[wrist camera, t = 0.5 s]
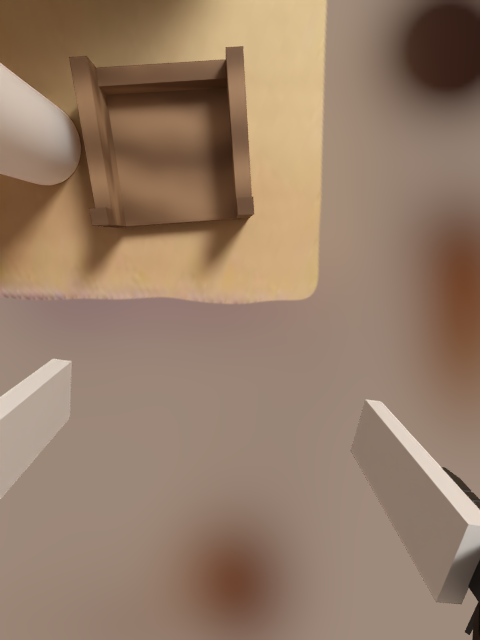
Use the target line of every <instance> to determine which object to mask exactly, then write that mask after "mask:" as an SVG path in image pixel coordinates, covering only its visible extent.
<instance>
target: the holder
mask: <svg viewBox="0 0 480 640" xmlns="http://www.w3.org/2000/svg"><path fill="white" fill-rule="evenodd" d="M69 59H70V65H71V70H72V76H73V82H74V88H75V94H76V99H77V105H78V111H79V117H80V123H81V128H82V134H83V140H84V146H85V152H86V157H87V163H88V169H89V175H90V181H91V186H92V192H93V198H94V204H95V208H89V211H90V216H91V222H92V226H104V227H116V228H118V227H132V226H146V225H160V224H173V223H187V222H201V221H215V220H229V219H242V218H250V217H251V216H252V215H253V214H254V205H253V197H252V193H251V175H250V158H249V141H248V124H247V107H246V90H245V73H244V56H243V46H240V47H226V60H210V61H195V62H179V63H163V64H147V65H131V66H115V67H100V68H96V67H95V66H94V65H93V63H92V62H91V61H90V60H89V58H88V57H87V56H80V57H69Z"/></svg>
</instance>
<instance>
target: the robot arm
mask: <svg viewBox="0 0 480 640" xmlns="http://www.w3.org/2000/svg"><path fill="white" fill-rule="evenodd" d="M71 363H72V362H71V361H66V360H58V359H52V360H51V361H49V362H48V363H47V364H45V365H44V366H42V367H41V368H40V369H38V370H37V371H36V372H34V373H33V374H31V375H30V376H29V377H27V378H26V379H25V380H23V381H22V382H20V383H19V384H18V385H17V386H15V387H13V388H12V389H11V390H9V391H8V392H7V393H5V394H4V395H2V396H1V397H0V499H1V498H2V497H3V496H4V495H5V493H6V492H7V491H8V490H9V489H10V488H11V486H12V485H13V484H14V483H15V482H16V480H17V479H18V478H19V477H20V476H21V475H22V473H23V472H24V471H25V470H26V469H27V468H28V466H29V465H30V464H31V463H32V462H33V461H34V459H35V458H36V457H37V456H38V455H39V453H40V452H41V451H42V450H43V449H44V448H45V446H46V445H47V444H48V443H49V442H50V441H51V439H52V438H53V437H54V436H55V435H56V433H57V432H58V431H59V430H60V429H61V428H62V426H63V425H64V424H65V423H66V422H67V421H68V419H69V418H70V395H71ZM351 452H352V454H353V456H354V458H355V459H356V461H357V463H358V465H359V466H360V468H361V470H362V472H363V474H364V475H365V477H366V479H367V481H368V482H369V484H370V486H371V488H372V489H373V491H374V493H375V495H376V497H377V498H378V500H379V502H380V504H381V505H382V507H383V509H384V511H385V513H386V514H387V516H388V518H389V519H390V521H391V523H392V525H393V527H394V528H395V530H396V532H397V534H398V536H399V537H400V539H401V541H402V543H403V544H404V546H405V548H406V550H407V551H408V553H409V555H410V557H411V559H412V560H413V562H414V564H415V566H416V567H417V569H418V571H419V573H420V575H421V576H422V578H423V580H424V581H425V583H426V585H427V587H428V588H429V590H430V592H431V594H432V596H433V598H434V599H435V601H436V602H440V603H441V602H442V603H453V604H462V602H463V599H464V597H465V595H466V593H467V590H468V588H470V590H471V591H472V593H473V594H474V596H475V597H476V599H477V600H478V604H477V606H476V608H475V611H474V613H473V615H472V617H471V619H470V622H469V624H468V626H467V628H466V630H465V632H466V633H467V634H469V635H470V633H471V631H472V630H473V640H480V499H479V498H478V497H477V496H476V495H475V494H474V493H472V492H471V490H470V489H469V488H468V487H467V486H466V485H465V484H464V482H463V481H462V480H461V479H460V478H458V477H457V476H456V475H454V474H453V473H452V472H450V471H449V470H447V469H446V468H444V467H440V466H439V465H438V463H437V462H436V461H435V460H434V459H433V458H432V457H431V456H430V455H429V453H428V452H427V451H426V450H425V449H424V448H423V447H422V446H421V445H420V444H419V443H418V441H417V440H416V439H415V438H414V437H413V436H412V435H411V434H410V433H409V432H408V430H407V429H406V428H405V427H404V426H403V425H402V424H401V423H400V422H399V421H398V419H397V418H396V417H395V416H394V415H393V414H392V413H391V412H390V411H389V410H388V408H387V407H386V406H385V405H384V404H383V403H382V402H381V401H373V400H365V402H364V406H363V410H362V413H361V416H360V420H359V423H358V427H357V430H356V434H355V437H354V441H353V444H352V448H351Z"/></svg>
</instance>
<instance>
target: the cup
mask: <svg viewBox="0 0 480 640" xmlns="http://www.w3.org/2000/svg"><path fill="white" fill-rule="evenodd" d="M80 155H81V143H80V138H79V134H78V132H77V129H76V127H75V125H74V124H73V122H72V121H71V119H70V118H69V117H68V115H67V114H66V113H65V112H64V111H62V110H61V109H60V108H59V107H57V106H56V105H55V104H53V103H52V102H51V101H49V100H48V99H47V98H46V97H44V96H43V95H42V94H40V93H39V92H38V91H36V90H35V89H34V88H33V87H31V86H30V85H29V84H27V83H26V82H25V81H23V80H22V79H21V78H19V77H18V76H17V75H16V74H14V73H13V72H12V71H10V70H9V69H8V68H6V67H5V66H4V65H2V64H1V63H0V174H2V175H6V176H10V177H13V178H17V179H20V180H24V181H28V182H31V183H35V184H39V185H55V184H58V183H61V182H63V181H65V180H66V179H68V178H69V177H70V176H71V175H72V174H73V172H74V171H75V170H76V168H77V166H78V163H79V160H80Z"/></svg>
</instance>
